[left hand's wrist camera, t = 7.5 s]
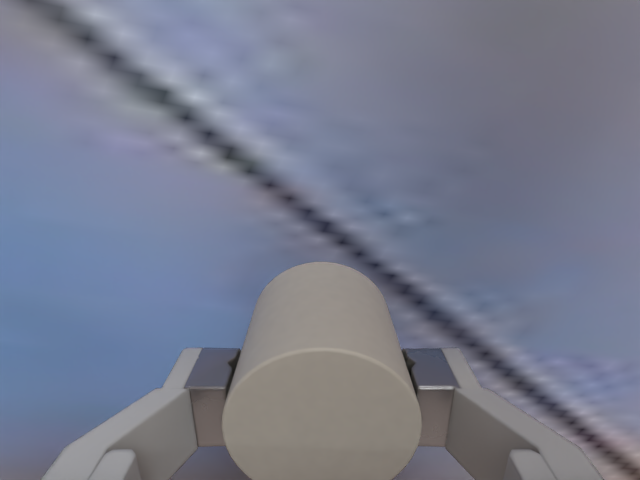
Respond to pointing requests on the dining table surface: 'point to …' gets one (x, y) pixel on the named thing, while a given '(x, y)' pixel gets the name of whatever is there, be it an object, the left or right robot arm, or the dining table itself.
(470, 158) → the dining table surface
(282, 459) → the canister
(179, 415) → the left robot arm
